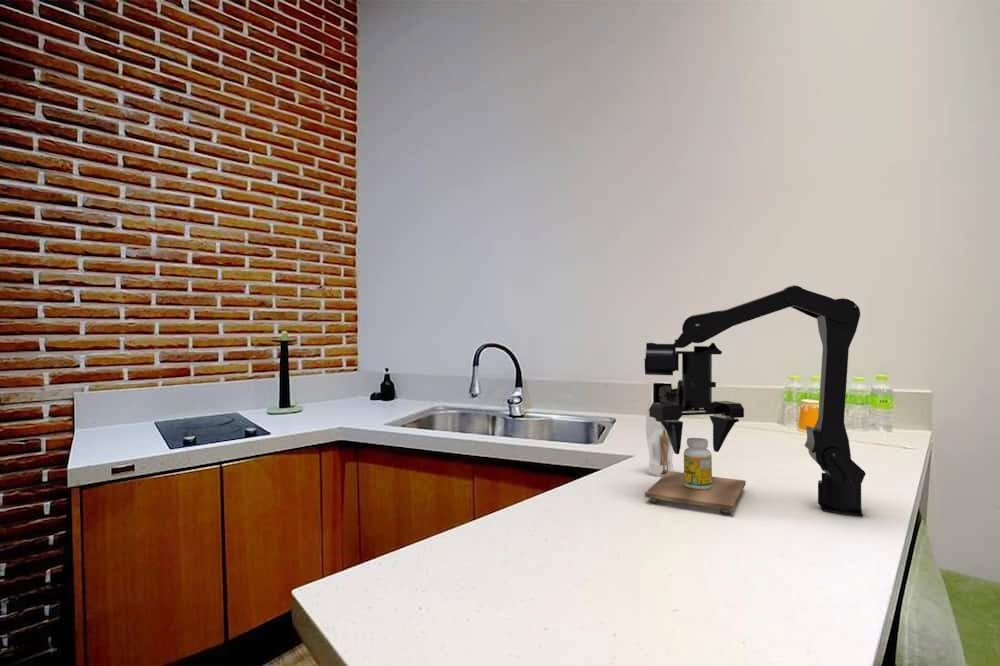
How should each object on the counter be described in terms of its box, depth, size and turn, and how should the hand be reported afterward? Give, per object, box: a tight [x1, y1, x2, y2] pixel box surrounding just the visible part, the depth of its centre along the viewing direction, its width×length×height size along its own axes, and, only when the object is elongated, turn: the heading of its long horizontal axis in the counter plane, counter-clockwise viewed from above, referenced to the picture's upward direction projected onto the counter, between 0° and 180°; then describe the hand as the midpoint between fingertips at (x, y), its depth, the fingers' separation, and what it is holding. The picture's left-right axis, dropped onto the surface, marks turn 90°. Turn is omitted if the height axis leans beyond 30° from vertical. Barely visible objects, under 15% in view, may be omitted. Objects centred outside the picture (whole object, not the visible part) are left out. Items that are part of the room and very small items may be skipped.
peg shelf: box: [644, 471, 747, 516], centre depth 110 cm, size 16×20×2 cm
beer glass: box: [645, 408, 675, 477], centre depth 129 cm, size 7×7×15 cm
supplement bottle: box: [683, 437, 713, 490], centre depth 110 cm, size 5×5×10 cm
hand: (696, 452), depth 110 cm, fingers open, 9 cm apart
